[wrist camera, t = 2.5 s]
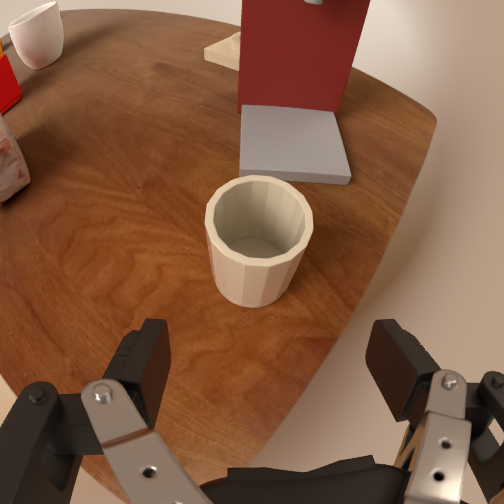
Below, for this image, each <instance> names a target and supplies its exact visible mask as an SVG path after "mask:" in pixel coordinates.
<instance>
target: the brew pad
mask: <svg viewBox="0 0 504 504" xmlns="http://www.w3.org/2000/svg"><path fill="white" fill-rule="evenodd" d="M240 34H241V31H240V32H238V33H235V34H233V36H231V37H229V38H226V39H224V40H222V41H220V42H217V43H215V44H213V45H211V46H209V47H207V48H205V49H204V53H205V60H207V61H210V62H213V63H216V64H219V65H222V66H225V67H228V68H231V69H234V70H236V71H239V57H240Z"/></svg>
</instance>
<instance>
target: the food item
mask: <svg viewBox="0 0 504 504" xmlns="http://www.w3.org/2000/svg"><path fill="white" fill-rule="evenodd" d="M3 117H4V116H2V114H1V113H0V204H2V203H3V202H5V201H6V200H7V199H9V198H10V197H11V196H13V195H14V194H15V193H17V192H18V191H19V190H21V189H22V188H23V187H25V186H26V185H27V184H28V183H30V182H31V180H30V174H29V171H28V167H27V165H26V162H25V160H24V157H23V154H22V152H21V150H20V148H19V146H18V144H17V142H16V140H15V139H16V138H15V136H13V134H12V132H11V130H10V128H9V126H8V125H7V123H6V122H5V120H4V119H3Z"/></svg>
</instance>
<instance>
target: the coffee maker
mask: <svg viewBox="0 0 504 504" xmlns="http://www.w3.org/2000/svg"><path fill="white" fill-rule="evenodd" d="M369 3H370V0H242V14H241V34H240V57H239V81H238V109H237V113H238V114H241V142H240V171H239V178H240V177H244V176H249V175H261V176H271V177H274V178H277V179H279V180H282V181H297V182H312V183H326V184H338V185H348V183H349V181H350V179H351V172H350V168H349V164H348V161H347V157H346V153H345V150H344V146H343V142H342V139H341V135H340V132H339V129H338V125H337V122H336V119H335V118H336V115H337V112H338V109H339V106H340V102H341V99H342V96H343V93H344V90H345V86H346V83H347V80H348V77H349V73H350V70H351V67H352V63H353V60H354V56H355V53H356V50H357V46H358V43H359V39H360V36H361V32H362V29H363V25H364V22H365V18H366V14H367V11H368V7H369Z"/></svg>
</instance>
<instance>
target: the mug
mask: <svg viewBox="0 0 504 504" xmlns="http://www.w3.org/2000/svg"><path fill="white" fill-rule="evenodd" d="M8 29H9V32H10V36H11V39H12V41H13V44H14V47H15V49H16V51H17V53H18V55H19V56H20V58H21V59H22V61H23V62H24V63H25V64H26V65H27V66H29V67H30V68H32V69H34V70H39V69H42V68H44V67H46V66H48V65H50V64H52V63H53V62H55V61H56V60H57V59H58V58H59V57H60V55H61V53H62V48H63V38H64V37H63V26H62V21H61V17H60V12H59V9H58V4H57V2H56V1H54V2H50V3H47V4H44V5H42V6H39V7H37V8H35V9H33V10H31V11H29V12H27V13H26V14H24V15H22V16H21V17H19V18H18V19H16V20H15V21H13V22H12V23H11V24H10V25H9V26H8Z"/></svg>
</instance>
